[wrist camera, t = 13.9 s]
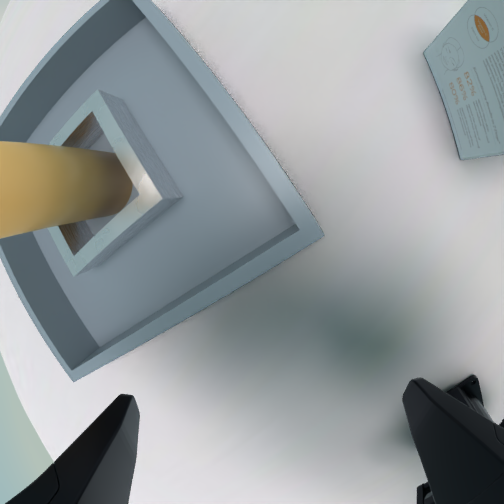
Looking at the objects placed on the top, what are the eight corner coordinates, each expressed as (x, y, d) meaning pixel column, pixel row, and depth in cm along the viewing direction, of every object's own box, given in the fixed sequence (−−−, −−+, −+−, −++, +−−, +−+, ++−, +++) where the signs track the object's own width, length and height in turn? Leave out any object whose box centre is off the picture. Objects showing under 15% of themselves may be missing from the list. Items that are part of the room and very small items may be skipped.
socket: (183, 196, 18) (162, 198, 15) (99, 266, 20) (73, 277, 17) (122, 99, 17) (97, 89, 14) (51, 175, 19) (24, 176, 16)
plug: (129, 221, 19) (-46, 267, 6) (80, 212, 19) (-77, 244, 7) (137, 153, 18) (-43, 133, 5) (87, 150, 18) (-74, 142, 6)
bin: (318, 223, 18) (324, 235, 13) (106, 352, 23) (73, 382, 18) (159, 9, 16) (128, -23, 12) (9, 169, 21) (-30, 170, 16)
